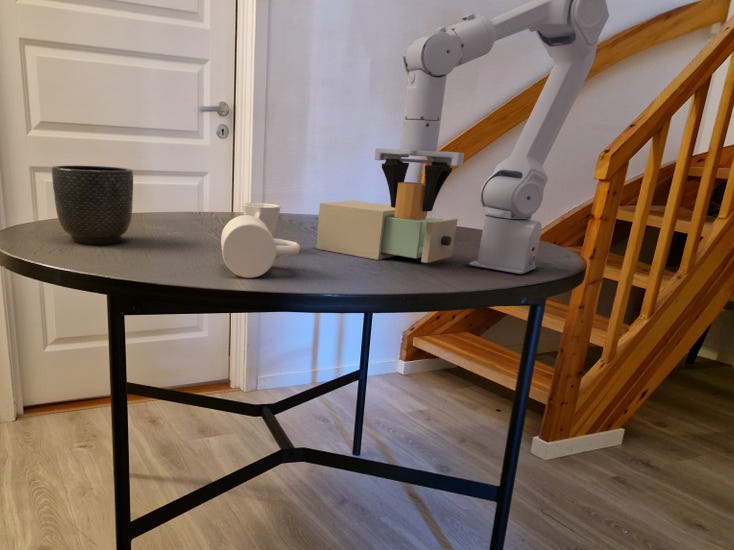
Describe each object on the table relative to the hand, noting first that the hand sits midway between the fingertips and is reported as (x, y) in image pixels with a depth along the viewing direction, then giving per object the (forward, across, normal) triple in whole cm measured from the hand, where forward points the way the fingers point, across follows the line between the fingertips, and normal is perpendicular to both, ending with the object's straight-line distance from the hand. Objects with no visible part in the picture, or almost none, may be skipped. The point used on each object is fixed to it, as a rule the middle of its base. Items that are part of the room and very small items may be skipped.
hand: (411, 209), depth 101 cm
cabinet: (+10, -13, +9) cm, 19 cm away
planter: (+10, -50, -26) cm, 57 cm away
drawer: (+9, -3, +9) cm, 13 cm away
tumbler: (+1, 0, 0) cm, 1 cm away
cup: (+10, -26, -8) cm, 29 cm away
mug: (+10, -14, -22) cm, 28 cm away
